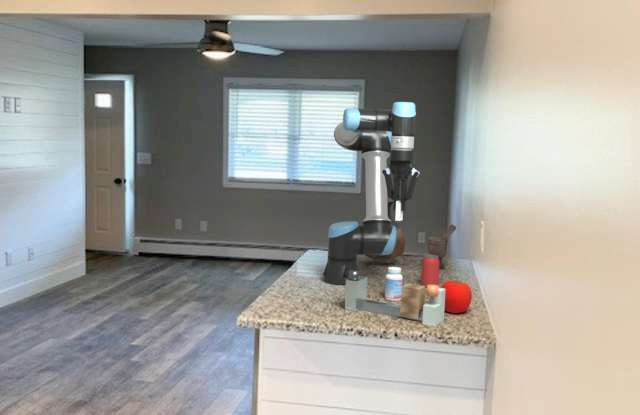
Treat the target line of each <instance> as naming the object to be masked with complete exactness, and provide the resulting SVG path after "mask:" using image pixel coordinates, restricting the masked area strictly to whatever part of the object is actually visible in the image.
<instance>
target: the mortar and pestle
mask: <svg viewBox="0 0 640 415" xmlns="http://www.w3.org/2000/svg"><path fill="white" fill-rule="evenodd" d="M456 229H457V226H455V225H454V224H450V225H449V226H448V228H447V229H446V231H445V233H444V234H443V235H442V237H440V236H439V237H437V236H430V237H428V243H427V244H428V245H427V249H428V254H430V255H437V256H438V258H439V269H444V268H445V263H444V262H443V258H445V257H446V253H447V250H448V244H449V243H448V241H449V239H448V238H449V237H450V236H451V235H453V233H454V232H455V231H456Z"/></svg>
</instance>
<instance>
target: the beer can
mask: <svg viewBox="0 0 640 415" xmlns="http://www.w3.org/2000/svg"><path fill="white" fill-rule="evenodd" d="M439 275H440V268H439V258H438V256H437V255H430V254H429V253H428V254H424V255H423V258H422V261H421V280H420V285H421V286H425V288H427V285H430V284H433V285H438V286H439V280H440V279H439V278H440V277H439Z"/></svg>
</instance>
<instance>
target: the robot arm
mask: <svg viewBox="0 0 640 415" xmlns="http://www.w3.org/2000/svg"><path fill="white" fill-rule="evenodd" d="M342 115H343V117H342V122H339V123H338V124H337V125H336V127H335V128H334V131H333V137H334V141H335V142H336V144H338V146H340V147H341V148H343V149H345V150H348V151H353V152H361V157H362V158H363V159H364V161H365V164H364V165H365V166H364V167H365V218H364V219H363V220H362V225H359V223H358V221H354V220H353V221H340V222H334V223H332V224H331V225H330V226H329V228H328V235H327V239H328V240H327V241H328V242H327V262H326V265H325V267H324V270H323V273H322V281H323V282H324V283H327V284H332V285H342V286H343V285H345V286H346V280H347V279H349V270H359V276H362V275H361V273H360V268H359V265H358V256H360V255H361V256H365V255H380V256H381V255H389V254H391V253H392V252H393V250H394V247H395V243H396V234H397V232H396V227H395V226H392V221H393V220H392V221H391V220H390V219H389V218H388V210H387V198H391V199H393V201H394V203H393V204H392V205H393V207H392V209H393V211H395V221H394V222H397V221H398V222H402V221H403V220H404V219H403V218H404V217H403V215H404V212H405V211H406V208H407V207H406V206H407V201H410V200H412V199H413V196H414V195H413V194H414V191H415V188H416V184H417V181H418V178H419V177H420V175H421V172H420V171H418V170H417V169H415V165H414V151H413V149H414V147H415V129H416V128H415V127H416V115H417V112H416V104H415V103H414V102H410V101H409V102H407V101H397V102H394V103H393V104H392V109H387V108H386V109H384V108H383V109H380V108H379V109H377V108H359V107H358V108H357V107H353V108H349V107H348V108H345V109H344V110H343V114H342ZM388 158H389V159H390V163H389V165H387V160H388ZM387 166H388V167H387ZM391 174H392V176H393V180H392V176H391ZM410 175H411V178H410V181H409V177H410ZM408 181H409V184H408Z"/></svg>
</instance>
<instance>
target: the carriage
mask: <svg viewBox="0 0 640 415" xmlns="http://www.w3.org/2000/svg"><path fill="white" fill-rule="evenodd" d="M425 302H426V287H425V286H422V285H421V284H420V285H419V284H415V283H413V284H412V283H406V284H404V285H402V292H401V300H400V305H401V309H400V316H403V317H408V318H414V319H419V311H420V310H422V309H423V305H425V304H426V303H425Z"/></svg>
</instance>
